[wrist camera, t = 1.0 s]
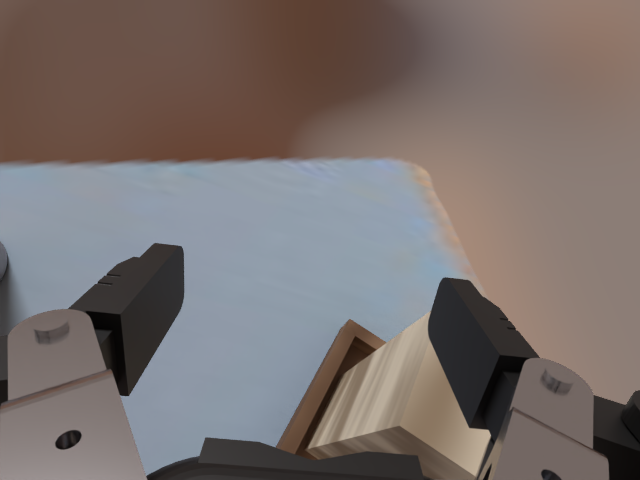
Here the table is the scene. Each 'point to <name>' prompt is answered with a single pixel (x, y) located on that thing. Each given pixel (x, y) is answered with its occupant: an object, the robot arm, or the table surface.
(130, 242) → the table surface
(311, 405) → the rack
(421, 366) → the birch board
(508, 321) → the robot arm
